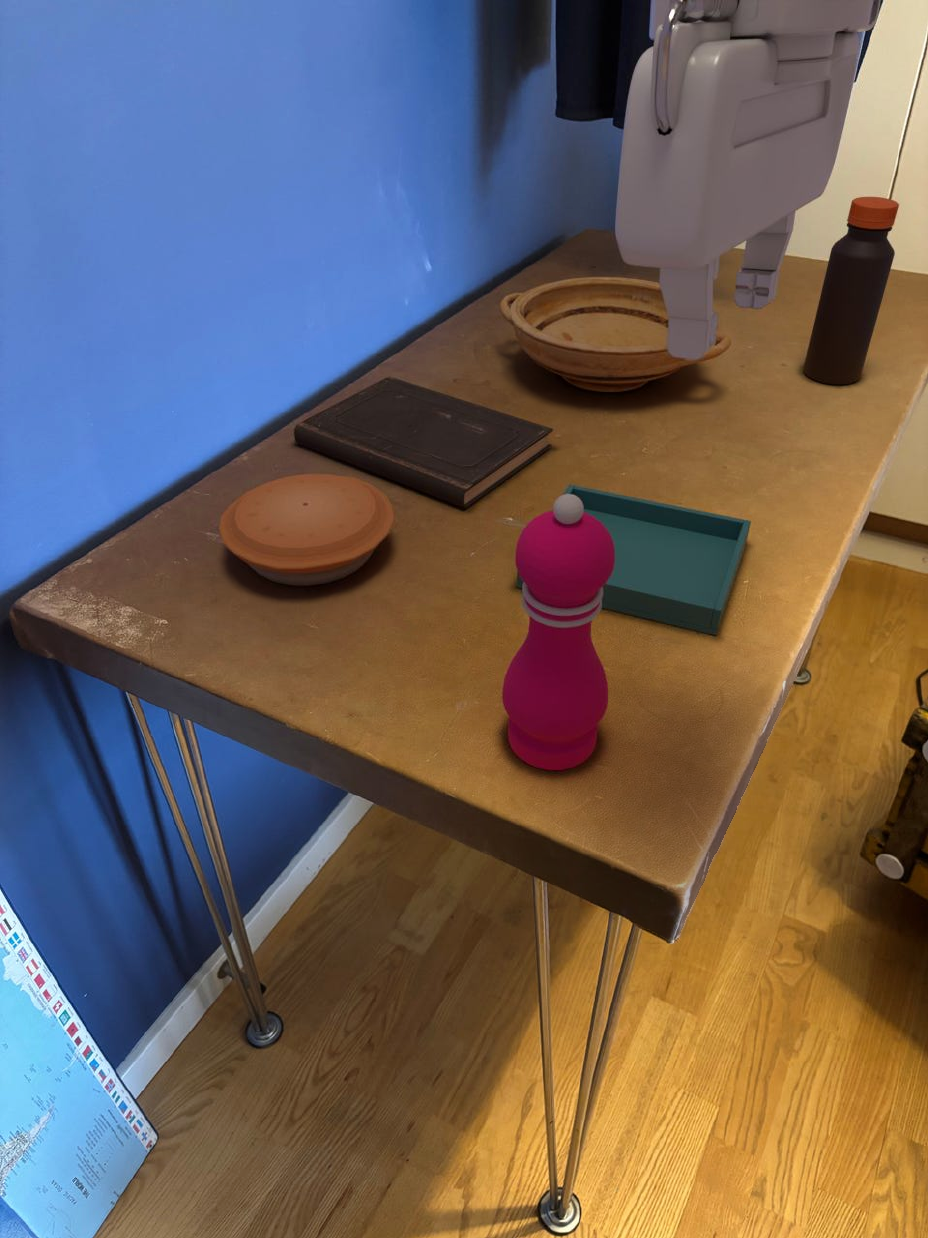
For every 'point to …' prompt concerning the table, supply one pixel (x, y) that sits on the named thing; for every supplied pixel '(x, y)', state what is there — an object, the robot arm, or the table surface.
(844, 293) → the bottle
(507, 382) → the table surface
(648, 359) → the ceramic bowl
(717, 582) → the tray
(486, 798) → the table surface
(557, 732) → the pepper mill
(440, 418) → the hardcover book
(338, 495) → the pie
